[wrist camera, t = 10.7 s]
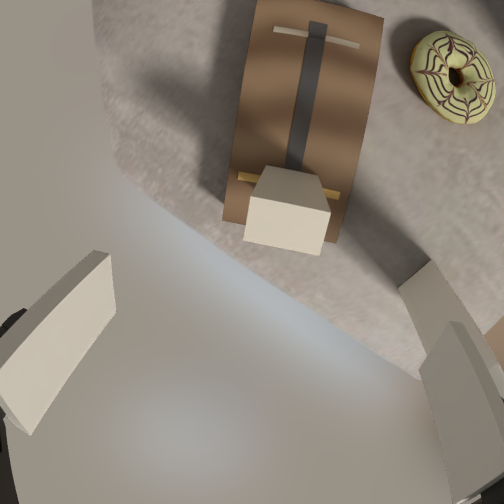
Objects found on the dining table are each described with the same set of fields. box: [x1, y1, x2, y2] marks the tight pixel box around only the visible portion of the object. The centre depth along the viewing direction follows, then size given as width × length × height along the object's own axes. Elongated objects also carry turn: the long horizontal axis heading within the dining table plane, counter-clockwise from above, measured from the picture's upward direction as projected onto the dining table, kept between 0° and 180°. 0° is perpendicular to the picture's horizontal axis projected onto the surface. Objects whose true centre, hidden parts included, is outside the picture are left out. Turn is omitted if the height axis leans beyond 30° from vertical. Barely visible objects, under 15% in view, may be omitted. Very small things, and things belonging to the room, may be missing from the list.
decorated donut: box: [410, 31, 496, 124], centre depth 23 cm, size 10×11×4 cm
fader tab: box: [243, 165, 331, 256], centre depth 24 cm, size 3×5×11 cm, turn 81°
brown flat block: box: [222, 0, 384, 243], centre depth 28 cm, size 24×12×4 cm, turn 171°
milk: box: [398, 260, 504, 399], centre depth 26 cm, size 6×6×22 cm
